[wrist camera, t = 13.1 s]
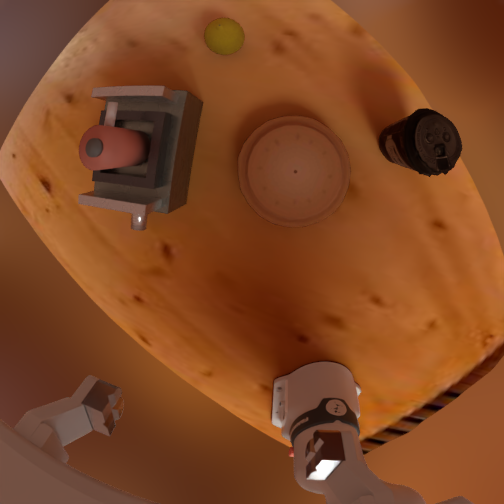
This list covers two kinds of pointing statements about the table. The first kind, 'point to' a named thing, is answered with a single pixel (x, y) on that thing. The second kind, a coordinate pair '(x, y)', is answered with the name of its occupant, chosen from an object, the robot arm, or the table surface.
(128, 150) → the pink cylinder with stub
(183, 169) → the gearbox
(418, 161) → the coffee cup
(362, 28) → the table surface
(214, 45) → the lemon
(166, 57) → the table surface
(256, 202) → the pie
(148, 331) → the table surface
